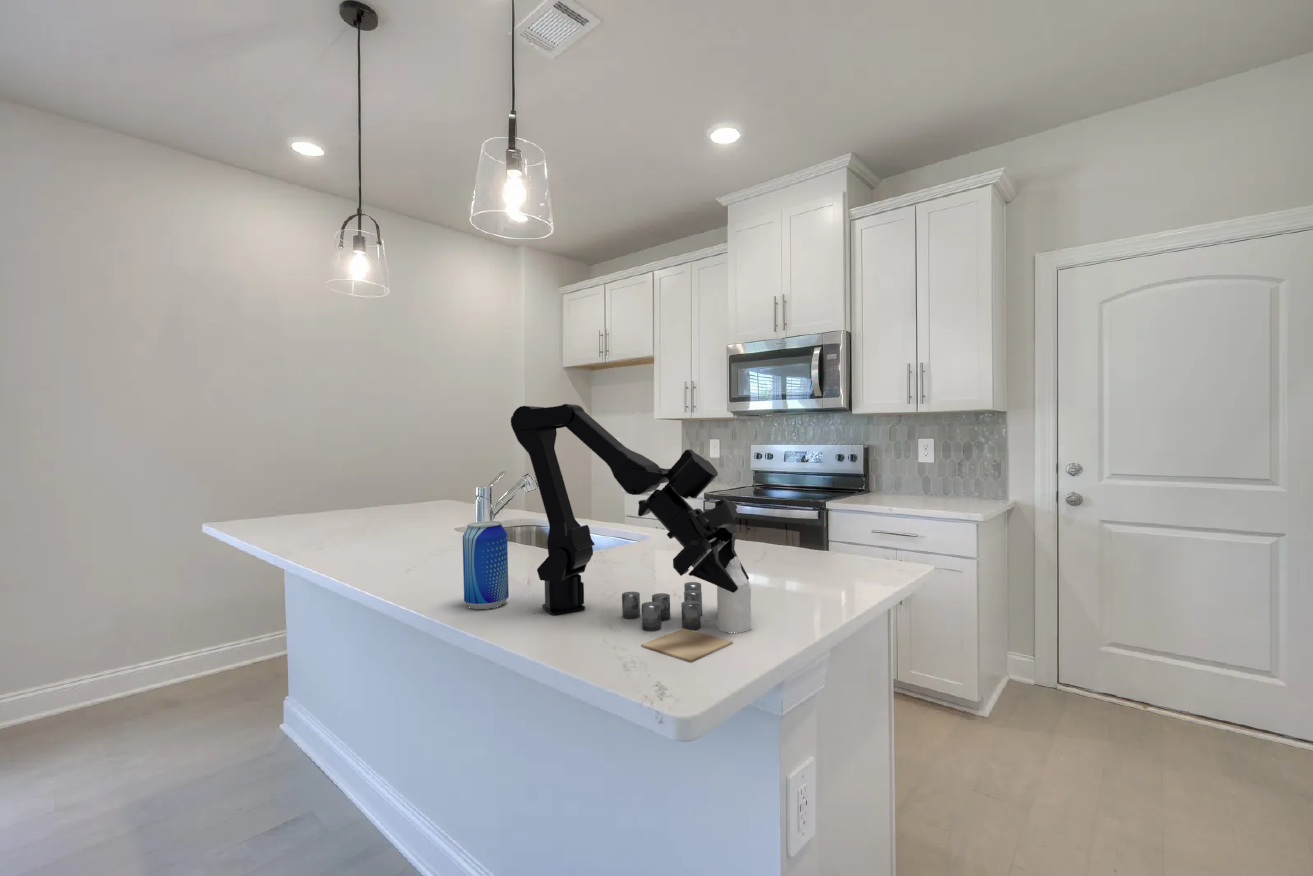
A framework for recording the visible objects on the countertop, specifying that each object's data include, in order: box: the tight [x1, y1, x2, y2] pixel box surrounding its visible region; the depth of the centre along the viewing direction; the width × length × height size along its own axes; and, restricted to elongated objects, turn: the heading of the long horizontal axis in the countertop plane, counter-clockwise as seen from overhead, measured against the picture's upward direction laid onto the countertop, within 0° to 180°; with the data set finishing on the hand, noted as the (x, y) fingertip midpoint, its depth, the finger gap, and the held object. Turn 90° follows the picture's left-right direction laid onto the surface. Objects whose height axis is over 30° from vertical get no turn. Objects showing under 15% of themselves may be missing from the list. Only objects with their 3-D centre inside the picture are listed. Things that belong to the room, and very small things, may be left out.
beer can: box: [462, 520, 509, 610], centre depth 116 cm, size 8×8×16 cm
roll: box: [716, 556, 752, 634], centre depth 99 cm, size 6×12×6 cm
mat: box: [640, 628, 734, 663], centre depth 91 cm, size 10×10×1 cm
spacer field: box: [621, 581, 703, 632], centre depth 105 cm, size 16×14×4 cm
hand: (741, 585), depth 98 cm, fingers open, 7 cm apart
